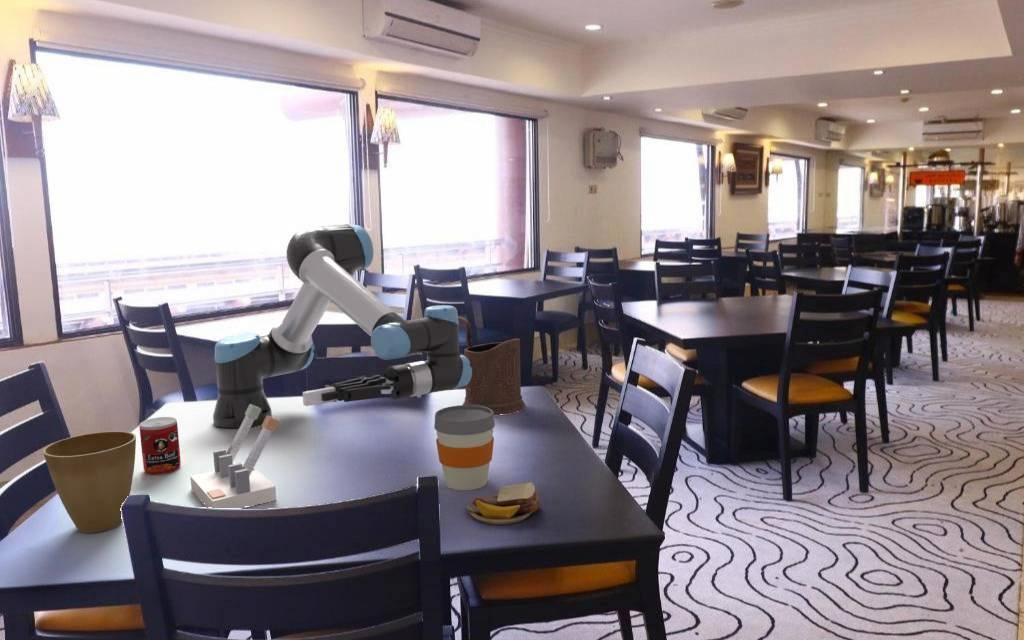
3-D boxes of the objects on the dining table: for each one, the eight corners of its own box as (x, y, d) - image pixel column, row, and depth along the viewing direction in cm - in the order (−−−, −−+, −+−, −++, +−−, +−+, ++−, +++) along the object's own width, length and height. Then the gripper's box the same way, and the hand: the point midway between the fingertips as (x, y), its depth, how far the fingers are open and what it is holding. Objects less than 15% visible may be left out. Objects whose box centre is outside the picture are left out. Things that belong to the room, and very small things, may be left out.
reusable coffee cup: (473, 498, 150) (471, 425, 147) (424, 486, 156) (421, 416, 154) (507, 477, 160) (506, 409, 158) (459, 467, 167) (457, 402, 164)
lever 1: (216, 468, 158) (249, 403, 160) (225, 471, 159) (258, 407, 161) (219, 471, 156) (253, 406, 158) (228, 474, 157) (261, 409, 159)
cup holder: (499, 419, 203) (497, 328, 199) (433, 406, 217) (430, 320, 213) (538, 404, 217) (537, 318, 213) (474, 392, 232) (472, 312, 228)
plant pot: (157, 507, 148) (150, 429, 145) (120, 541, 133) (111, 454, 131) (81, 509, 148) (72, 431, 145) (35, 543, 133) (24, 457, 130)
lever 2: (232, 483, 149) (266, 414, 151) (241, 486, 150) (275, 418, 153) (235, 486, 147) (270, 417, 149) (244, 489, 148) (279, 421, 151)
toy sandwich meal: (477, 498, 150) (476, 475, 149) (544, 502, 147) (543, 479, 147) (460, 524, 138) (459, 500, 137) (533, 529, 135) (532, 504, 135)
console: (191, 489, 157) (188, 455, 156) (249, 476, 164) (247, 443, 163) (213, 516, 143) (210, 479, 142) (276, 500, 150) (273, 465, 149)
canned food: (144, 477, 164) (139, 429, 163) (143, 466, 171) (138, 419, 170) (182, 471, 168) (178, 423, 166) (179, 460, 175) (175, 414, 173)
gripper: (422, 402, 163) (317, 423, 149) (394, 391, 173) (294, 410, 159) (420, 368, 162) (315, 386, 148) (392, 359, 172) (291, 375, 158)
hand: (304, 399), depth 154 cm, fingers closed
